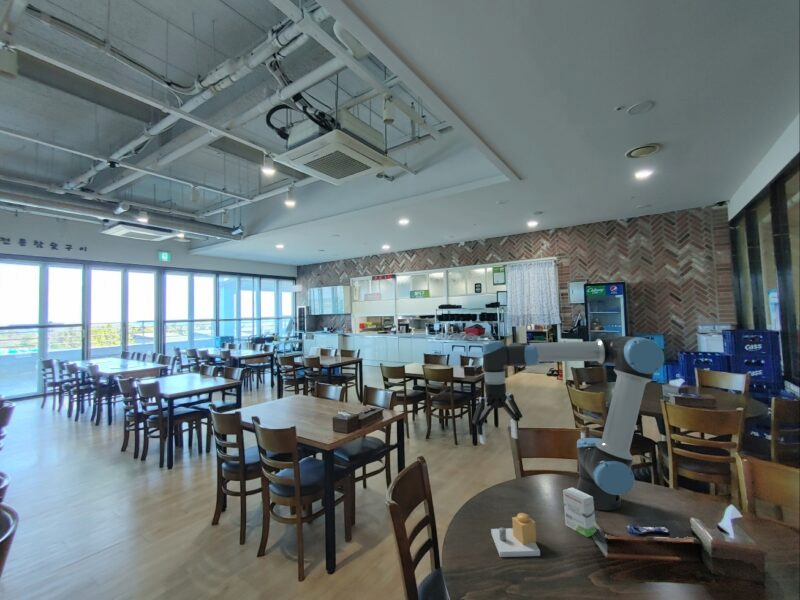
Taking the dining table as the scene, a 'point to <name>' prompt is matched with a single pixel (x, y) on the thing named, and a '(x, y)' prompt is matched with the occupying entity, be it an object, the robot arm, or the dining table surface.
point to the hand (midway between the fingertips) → (498, 440)
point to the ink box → (579, 511)
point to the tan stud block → (524, 528)
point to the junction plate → (512, 544)
